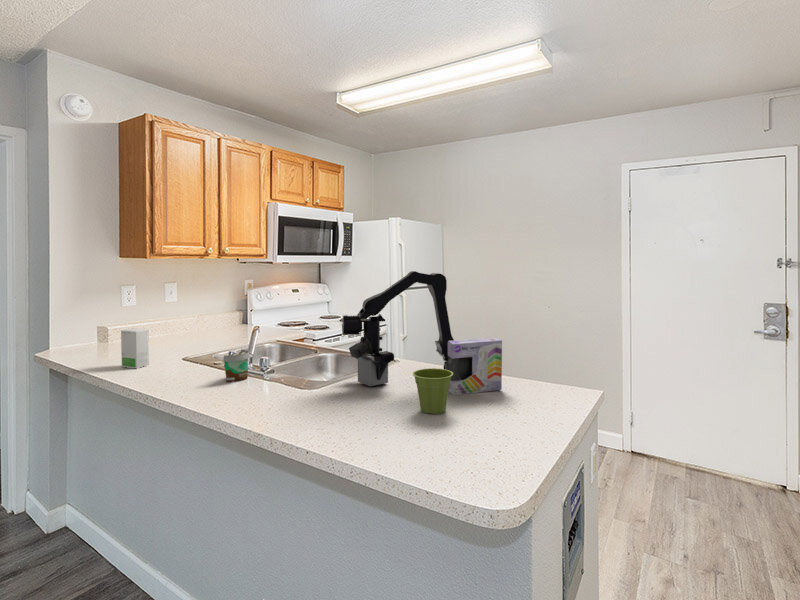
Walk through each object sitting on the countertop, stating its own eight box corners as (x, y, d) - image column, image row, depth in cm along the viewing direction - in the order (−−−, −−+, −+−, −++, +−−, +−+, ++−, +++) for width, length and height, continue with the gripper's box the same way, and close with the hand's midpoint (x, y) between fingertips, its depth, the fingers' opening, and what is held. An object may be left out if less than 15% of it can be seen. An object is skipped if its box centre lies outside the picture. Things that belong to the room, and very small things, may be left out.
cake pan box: (449, 396, 145) (450, 342, 144) (444, 391, 150) (444, 339, 148) (502, 391, 150) (503, 339, 149) (495, 387, 155) (496, 337, 154)
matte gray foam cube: (388, 382, 158) (388, 358, 158) (370, 386, 154) (370, 361, 153) (374, 378, 164) (375, 354, 164) (357, 381, 159) (357, 357, 159)
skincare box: (121, 367, 184) (119, 330, 182) (135, 364, 190) (133, 327, 189) (137, 369, 181) (135, 331, 180) (150, 365, 188) (148, 328, 186)
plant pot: (428, 401, 139) (428, 366, 138) (460, 409, 132) (461, 372, 131) (404, 411, 130) (404, 373, 129) (437, 420, 123) (438, 380, 122)
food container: (239, 384, 159) (238, 356, 158) (223, 383, 160) (223, 355, 159) (257, 375, 171) (256, 349, 170) (242, 374, 172) (241, 349, 172)
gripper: (337, 333, 159) (338, 376, 160) (368, 340, 145) (369, 387, 146) (363, 330, 166) (363, 371, 168) (395, 336, 152) (395, 381, 153)
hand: (371, 377), depth 159 cm, fingers closed on matte gray foam cube, 8 cm apart
